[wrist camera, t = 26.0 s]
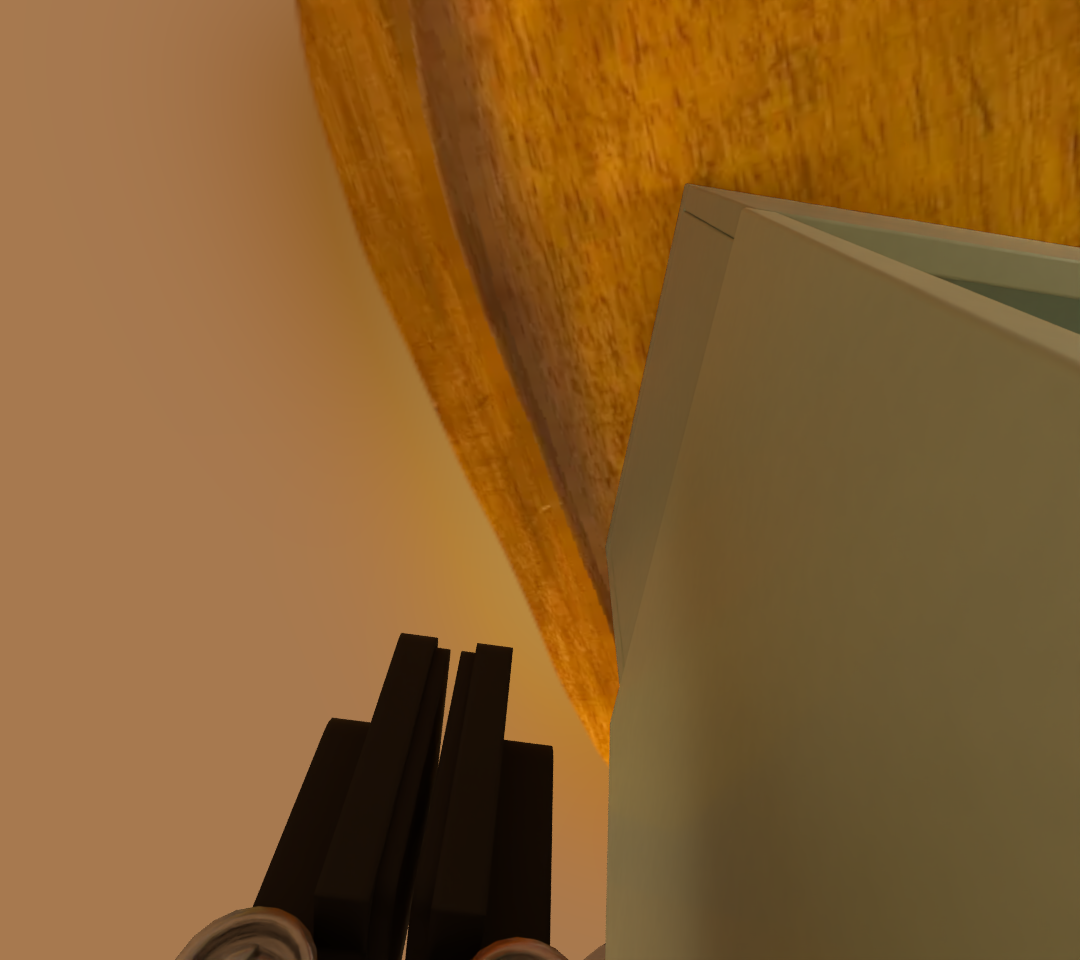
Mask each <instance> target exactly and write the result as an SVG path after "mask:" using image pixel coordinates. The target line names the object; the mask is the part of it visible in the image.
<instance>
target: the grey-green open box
mask: <svg viewBox="0 0 1080 960" xmlns="http://www.w3.org/2000/svg"><path fill="white" fill-rule="evenodd" d="M743 208H752V209H758V210H765V211H771V212H776V213H779V214H781V215H784V216H786V217H789V218H791V219H794V220H796V221H799V222H801V223H804V224H806V225H809V226H811V227H814V228H816V229H819V230H821V231H824V232H826V233H828V234H831V235H833V236H836V237H838V238H841V239H843V240H846V241H848V242H851V243H853V244H856V245H858V246H861V247H863V248H866V249H868V250H871V251H873V252H876V253H878V254H881V255H883V256H886V257H888V258H891V259H893V260H896V261H898V262H900V263H903V264H905V265H908V266H910V267H913V268H915V269H918V270H920V271H923V272H925V273H928V274H930V275H933V276H935V277H938V278H940V279H943V280H945V281H948V282H950V283H953V284H955V285H958V286H960V287H963V288H965V289H968V290H970V291H972V292H975V293H977V294H980V295H982V296H985V297H987V298H990V299H992V300H995V301H997V302H1000V303H1002V304H1005V305H1007V306H1010V307H1012V308H1015V309H1017V310H1020V311H1022V312H1025V313H1027V314H1030V315H1032V316H1035V317H1037V318H1040V319H1042V320H1044V321H1047V322H1049V323H1052V324H1054V325H1057V326H1059V327H1062V328H1064V329H1067V330H1069V331H1072V332H1074V333H1077V334H1079V335H1080V248H1079V247H1073V246H1067V245H1060V244H1054V243H1048V242H1042V241H1036V240H1030V239H1024V238H1018V237H1011V236H1005V235H999V234H993V233H987V232H981V231H975V230H969V229H962V228H956V227H950V226H944V225H938V224H932V223H926V222H920V221H913V220H907V219H901V218H895V217H889V216H883V215H877V214H871V213H864V212H858V211H852V210H846V209H840V208H834V207H828V206H822V205H815V204H809V203H803V202H797V201H791V200H785V199H779V198H773V197H766V196H760V195H754V194H748V193H742V192H736V191H730V190H724V189H717V188H711V187H705V186H699V185H693V184H685V187H684V192H683V197H682V201H681V206H680V210H679V215H678V219H677V224H676V228H675V233H674V237H673V242H672V247H671V251H670V256H669V260H668V265H667V269H666V274H665V278H664V283H663V288H662V292H661V297H660V301H659V306H658V310H657V315H656V319H655V324H654V328H653V333H652V338H651V342H650V347H649V351H648V356H647V360H646V365H645V369H644V374H643V379H642V383H641V388H640V392H639V397H638V401H637V406H636V410H635V415H634V419H633V424H632V429H631V433H630V438H629V442H628V447H627V451H626V456H625V460H624V465H623V470H622V474H621V479H620V483H619V488H618V492H617V497H616V501H615V506H614V510H613V515H612V520H611V524H610V529H609V533H608V538H607V542H606V547H605V548H606V556H607V565H608V575H609V585H610V595H611V605H612V615H613V624H614V634H615V644H616V654H617V664H618V674H619V684H620V683H621V679H622V675H623V671H624V667H625V663H626V660H627V656H628V652H629V648H630V644H631V640H632V636H633V632H634V628H635V624H636V620H637V617H638V613H639V609H640V605H641V601H642V597H643V593H644V589H645V585H646V581H647V577H648V574H649V570H650V566H651V562H652V558H653V554H654V550H655V546H656V542H657V538H658V534H659V531H660V527H661V523H662V519H663V515H664V511H665V507H666V503H667V499H668V495H669V491H670V488H671V484H672V480H673V476H674V472H675V468H676V464H677V460H678V456H679V452H680V448H681V445H682V441H683V437H684V433H685V429H686V425H687V421H688V417H689V413H690V409H691V405H692V402H693V398H694V394H695V390H696V386H697V382H698V378H699V374H700V370H701V366H702V363H703V359H704V355H705V351H706V347H707V343H708V339H709V335H710V331H711V327H712V323H713V320H714V316H715V312H716V308H717V304H718V300H719V296H720V292H721V288H722V284H723V280H724V277H725V273H726V269H727V265H728V261H729V257H730V253H731V249H732V245H733V241H734V237H735V234H736V230H737V226H738V222H739V218H740V214H741V211H742V209H743Z"/></svg>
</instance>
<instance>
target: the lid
mask: <svg viewBox="0 0 1080 960" xmlns="http://www.w3.org/2000/svg"><path fill="white" fill-rule="evenodd" d="M608 807H609V808H608V809H609V811H608V854H607V858H608V859H607V905H606V951H605V960H1080V335H1079V334H1077V333H1074V332H1072V331H1069V330H1067V329H1064V328H1062V327H1059V326H1057V325H1054V324H1052V323H1049V322H1047V321H1044V320H1042V319H1040V318H1037V317H1035V316H1032V315H1030V314H1027V313H1025V312H1022V311H1020V310H1017V309H1015V308H1012V307H1010V306H1007V305H1005V304H1002V303H1000V302H997V301H995V300H992V299H990V298H987V297H985V296H982V295H980V294H977V293H975V292H972V291H970V290H968V289H965V288H963V287H960V286H958V285H955V284H953V283H950V282H948V281H945V280H943V279H940V278H938V277H935V276H933V275H930V274H928V273H925V272H923V271H920V270H918V269H915V268H913V267H910V266H908V265H905V264H903V263H900V262H898V261H896V260H893V259H891V258H888V257H886V256H883V255H881V254H878V253H876V252H873V251H871V250H868V249H866V248H863V247H861V246H858V245H856V244H853V243H851V242H848V241H846V240H843V239H841V238H838V237H836V236H833V235H831V234H828V233H826V232H824V231H821V230H819V229H816V228H814V227H811V226H809V225H806V224H804V223H801V222H799V221H796V220H794V219H791V218H789V217H786V216H784V215H781V214H779V213H776V212H771V211H765V210H758V209H752V208H743V209H742V211H741V214H740V218H739V222H738V226H737V230H736V234H735V237H734V241H733V245H732V249H731V253H730V257H729V261H728V265H727V269H726V273H725V277H724V280H723V284H722V288H721V292H720V296H719V300H718V304H717V308H716V312H715V316H714V320H713V323H712V327H711V331H710V335H709V339H708V343H707V347H706V351H705V355H704V359H703V363H702V366H701V370H700V374H699V378H698V382H697V386H696V390H695V394H694V398H693V402H692V405H691V409H690V413H689V417H688V421H687V425H686V429H685V433H684V437H683V441H682V445H681V448H680V452H679V456H678V460H677V464H676V468H675V472H674V476H673V480H672V484H671V488H670V491H669V495H668V499H667V503H666V507H665V511H664V515H663V519H662V523H661V527H660V531H659V534H658V538H657V542H656V546H655V550H654V554H653V558H652V562H651V566H650V570H649V574H648V577H647V581H646V585H645V589H644V593H643V597H642V601H641V605H640V609H639V613H638V617H637V620H636V624H635V628H634V632H633V636H632V640H631V644H630V648H629V652H628V656H627V660H626V663H625V667H624V671H623V675H622V679H621V683H620V687H619V691H618V695H617V699H616V703H615V706H614V710H613V714H612V718H611V722H610V758H609V806H608Z"/></svg>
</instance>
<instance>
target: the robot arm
mask: <svg viewBox="0 0 1080 960" xmlns="http://www.w3.org/2000/svg"><path fill="white" fill-rule="evenodd" d="M512 652H513V648H510V647H503V646H495V645H487V644H480V643H477V647H476V653H472V652H465V651H462V652H461V656H460V661H459V666H458V671H457V676H456V681H455V686H454V691H453V696H452V700H451V706H450V711H449V715H448V720H447V725H446V731H445V735H444V740H443V745H442V750H441V755H440V760H439V753H440V744H441V733H442V725H443V716H444V707H445V697H446V688H447V680H448V670H449V661H450V650H449V649H442V648H438V638H435V637H428V636H420V635H413V634H405V633H401V635H400V637H399V640H398V642H397V645H396V649H395V651H394V654H393V658H392V660H391V664H390V666H389V670H388V673H387V676H386V679H385V681H384V684H383V687H382V691H381V693H380V696H379V699H378V703H377V706H376V709H375V712H374V715H373V718H372V721H371V723H370V722H362V721H354V720H346V719H338V718H332V719H331V720H330V721H329V722H328V724H327V726H326V728H325V731H324V733H323V735H322V738H321V740H320V743H319V745H318V748H317V750H316V752H315V755H314V757H313V760H312V762H311V765H310V767H309V770H308V772H307V775H306V777H305V780H304V782H303V784H302V787H301V789H300V792H299V794H298V797H297V799H296V802H295V804H294V807H293V809H292V811H291V814H290V816H289V819H288V822H287V824H286V826H285V829H284V831H283V834H282V836H281V839H280V841H279V843H278V846H277V848H276V851H275V854H274V856H273V858H272V861H271V863H270V866H269V868H268V871H267V873H266V876H265V878H264V881H263V883H262V886H261V888H260V891H259V893H258V896H257V898H256V900H255V902H254V905H253V907H252V908H246V909H241V910H236V911H234V912H232V913H230V914H228V915H225V916H223V917H221V918H219V919H217V920H214V921H213V922H212V923H210V924H209V925H208V926H207V927H205V928H204V929H203V930H201V931H200V932H199V933H198V934H196V935H195V936H194V937H193V938H192V939H191V940H190V942H189V943H188V944H187V945H186V947H185V948H184V949H183V950H182V952H181V953H180V954H179V955H178V956H177V958H176V959H175V960H402V955H403V950H404V945H405V940H406V935H407V929H408V937H407V948H406V959H405V960H568V959H567V958H566V957H565V956H563V955H562V954H561V953H560V952H559V951H558V950H556V949H555V948H553V947H551V946H550V912H551V858H552V802H553V801H552V800H553V747H552V746H548V745H540V744H531V743H525V742H517V741H508V740H504V732H505V722H506V712H507V702H508V692H509V683H510V673H511V663H512ZM438 762H439V765H438ZM408 924H409V927H408Z"/></svg>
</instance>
